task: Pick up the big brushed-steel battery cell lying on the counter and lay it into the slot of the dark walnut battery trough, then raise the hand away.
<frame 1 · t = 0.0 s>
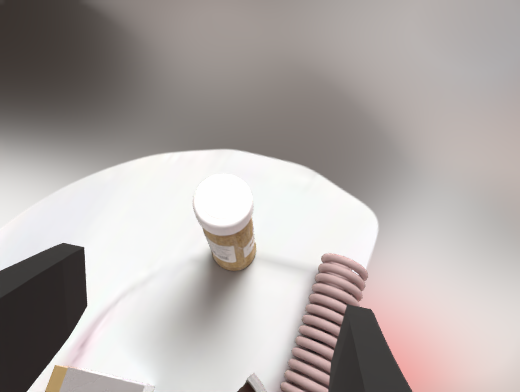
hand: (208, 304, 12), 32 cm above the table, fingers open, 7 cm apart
sprinkles bottle: (234, 250, 46), on the table
coil: (316, 352, 43), on the table
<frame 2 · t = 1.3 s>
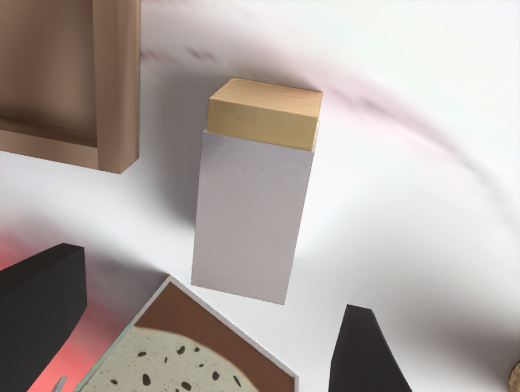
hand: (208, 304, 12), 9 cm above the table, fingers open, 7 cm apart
food container: (204, 351, 26), on the table
battery cell: (265, 171, 21), on the table
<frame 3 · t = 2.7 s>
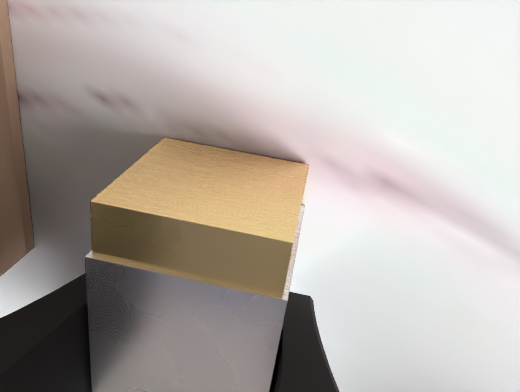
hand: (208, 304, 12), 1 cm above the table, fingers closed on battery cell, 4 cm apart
battery cell: (221, 275, 13), on the table, touching gripper
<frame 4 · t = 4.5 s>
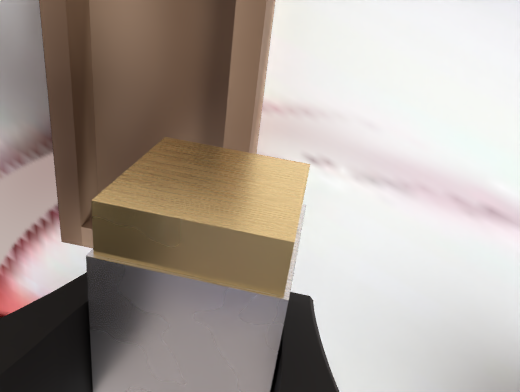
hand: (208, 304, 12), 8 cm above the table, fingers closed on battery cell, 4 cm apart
battery trough: (166, 103, 19), on the table
battery cell: (222, 274, 13), point 7 cm above the table, touching gripper
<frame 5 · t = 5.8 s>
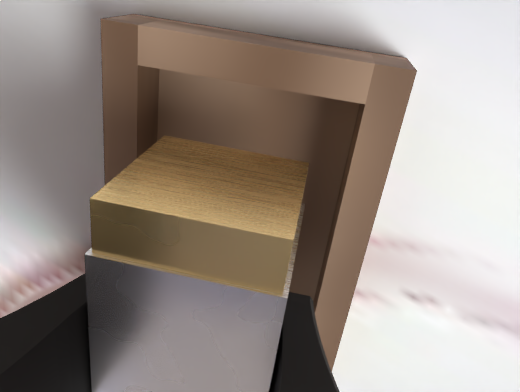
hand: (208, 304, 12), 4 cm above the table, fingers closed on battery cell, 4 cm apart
battery trough: (240, 228, 16), on the table
battery cell: (221, 273, 13), point 3 cm above the table, touching gripper
when the fingers open (3 cm above the table, at t = 6.6 s): battery cell stays where it is, resting on battery trough.
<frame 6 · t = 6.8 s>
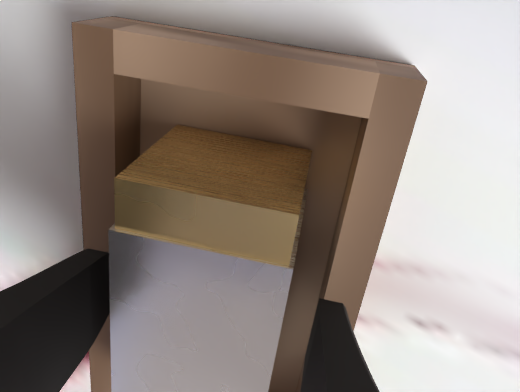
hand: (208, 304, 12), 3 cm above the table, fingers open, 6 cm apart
battery trough: (232, 249, 15), on the table
battery cell: (229, 255, 14), resting on battery trough
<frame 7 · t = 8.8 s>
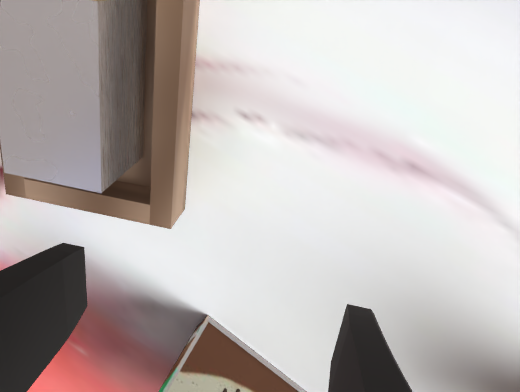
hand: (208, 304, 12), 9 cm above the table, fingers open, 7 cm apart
food container: (238, 386, 27), on the table
battery trough: (105, 59, 19), on the table
battery cell: (100, 61, 19), resting on battery trough
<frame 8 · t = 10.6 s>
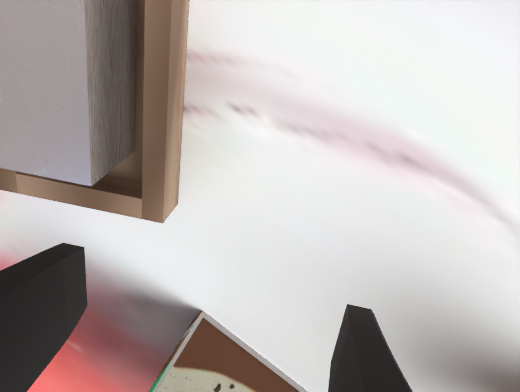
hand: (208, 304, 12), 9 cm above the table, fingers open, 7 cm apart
food container: (233, 382, 27), on the table
battery trough: (96, 53, 19), on the table
battery cell: (91, 54, 19), resting on battery trough
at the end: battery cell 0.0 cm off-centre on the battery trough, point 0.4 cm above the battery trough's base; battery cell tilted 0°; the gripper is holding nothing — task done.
